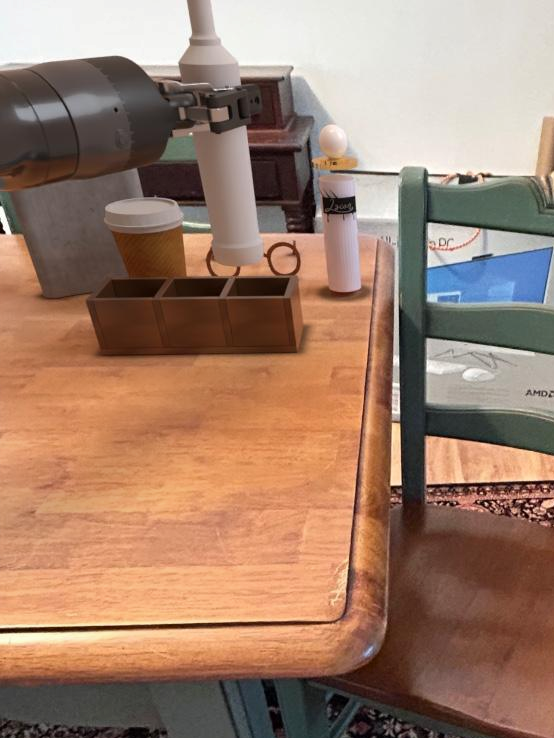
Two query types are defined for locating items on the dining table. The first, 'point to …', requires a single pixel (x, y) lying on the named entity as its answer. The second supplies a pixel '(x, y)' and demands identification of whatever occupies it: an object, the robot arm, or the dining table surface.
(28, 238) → the hip flask
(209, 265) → the glasses
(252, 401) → the dining table surface
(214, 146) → the bottle
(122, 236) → the disposable coffee cup
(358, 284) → the perfume bottle
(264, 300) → the rack
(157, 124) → the robot arm
